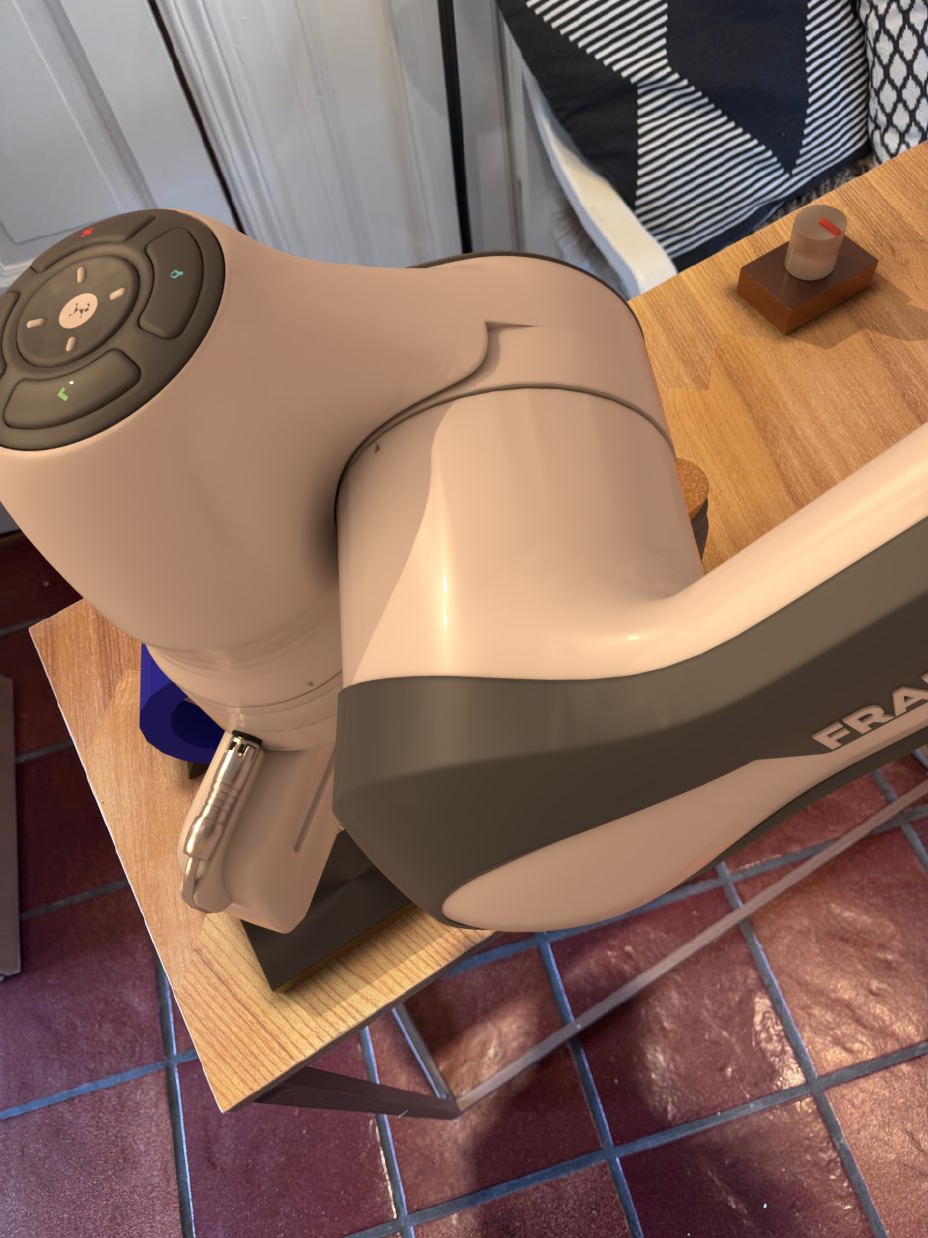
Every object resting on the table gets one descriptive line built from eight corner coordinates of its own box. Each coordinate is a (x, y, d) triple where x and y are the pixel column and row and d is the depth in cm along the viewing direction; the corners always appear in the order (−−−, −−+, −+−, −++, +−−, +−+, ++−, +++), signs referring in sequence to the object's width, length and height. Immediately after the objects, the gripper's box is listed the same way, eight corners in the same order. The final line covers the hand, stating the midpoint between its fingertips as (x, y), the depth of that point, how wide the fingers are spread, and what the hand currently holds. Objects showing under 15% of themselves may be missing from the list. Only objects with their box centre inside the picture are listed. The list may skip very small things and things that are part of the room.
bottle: (705, 580, 71) (732, 467, 58) (674, 638, 69) (695, 536, 56) (638, 552, 73) (650, 437, 60) (606, 608, 71) (611, 502, 58)
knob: (774, 261, 82) (784, 216, 78) (811, 239, 82) (823, 194, 78) (807, 287, 80) (819, 243, 76) (845, 265, 80) (859, 220, 76)
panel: (818, 245, 86) (825, 219, 83) (870, 286, 83) (879, 260, 80) (735, 292, 85) (740, 267, 82) (785, 335, 82) (791, 310, 79)
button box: (443, 778, 66) (435, 762, 63) (492, 858, 63) (486, 845, 60) (241, 905, 64) (221, 895, 61) (281, 994, 61) (263, 989, 57)
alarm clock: (189, 786, 69) (94, 718, 55) (176, 649, 74) (87, 557, 61) (341, 745, 69) (281, 667, 55) (316, 611, 74) (257, 511, 61)
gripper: (252, 927, 29) (352, 971, 41) (452, 434, 37) (486, 593, 49) (88, 870, 30) (232, 928, 42) (315, 409, 38) (381, 569, 51)
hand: (369, 746), depth 46 cm, fingers open, 4 cm apart
